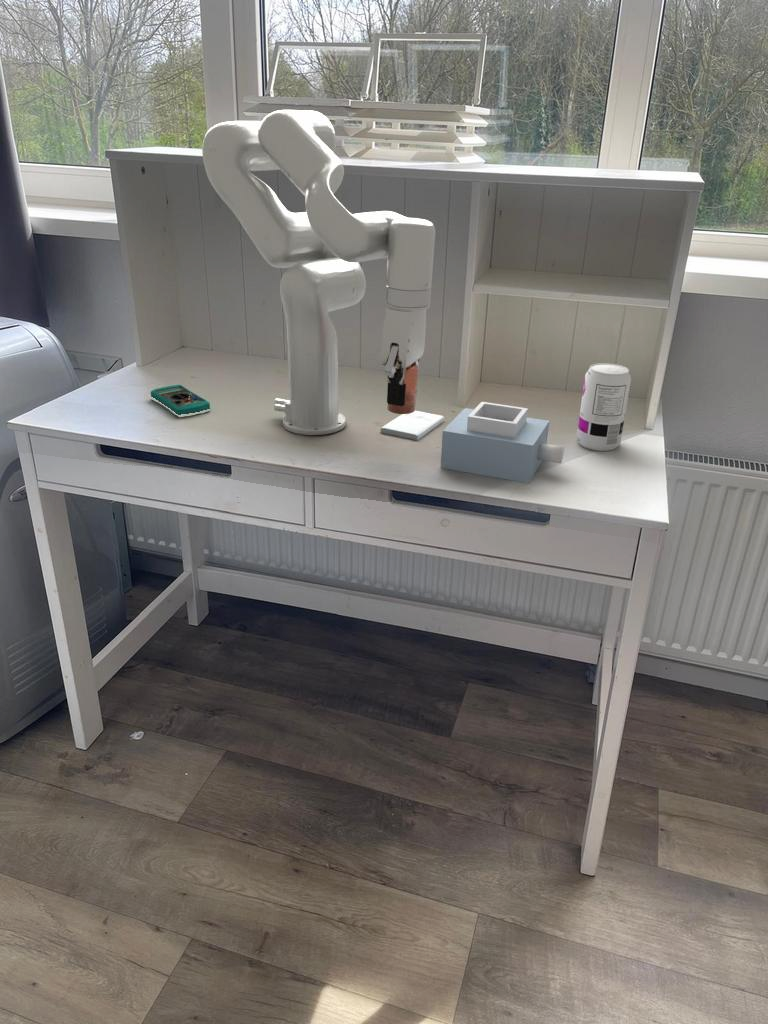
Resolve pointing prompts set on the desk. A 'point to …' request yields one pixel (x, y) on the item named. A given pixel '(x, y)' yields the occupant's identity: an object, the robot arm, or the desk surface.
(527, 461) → the gearbox
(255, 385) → the desk surface
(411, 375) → the orange gas canister
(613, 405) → the supplement can
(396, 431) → the external hard drive
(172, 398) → the digital multimeter
